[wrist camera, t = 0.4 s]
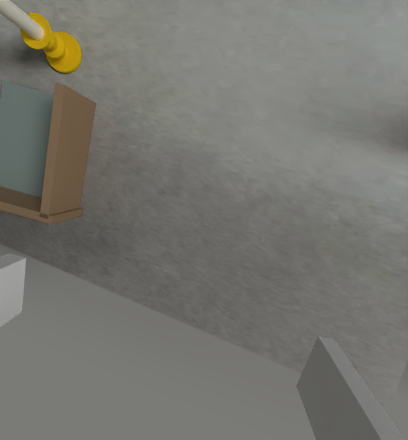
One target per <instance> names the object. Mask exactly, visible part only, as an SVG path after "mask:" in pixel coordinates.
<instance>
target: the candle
mask: <svg viewBox="0 0 408 440" xmlns="http://www.w3.org/2000/svg"><path fill="white" fill-rule="evenodd" d="M0 13H1V14H2V15H3V16H5V17H6V18H7V19H9V20H10V21H11V22H13V23H14V24H15V25H17V26H18V27H19V28H21V35H22V38H23V40H24V41H25V43H26V44H27V45H28V46H30V47H31V48H34V49H42V48H43V50H44V52H45V54H46V58H47V60H48V62H49V64H50V65H51V66H52V67H53V68H54V69H55V70H57V71H59V72H61V73H71V72H73V71H75V70H76V69H77V68H78V66H79V65H80V62H81V58H82V53H81V48H80V46H79V43H78V42H77V41H76V39H75V38H74V37H72V36H71V35H70V34H68V33H66V32H53V31H51V28H50V25H49V23H48V21H47V20H46V19H45V18H44V17H43V16H42V15H40V14H38V13H30V14H28V15H27V14H26V13H24V12H23V11H22V10H21V9H19V8H18V7H17V6H16V5H15V4H13V3H12V2H11V1H10V0H0Z"/></svg>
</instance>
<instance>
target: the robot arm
mask: <svg viewBox="0 0 408 440" xmlns="http://www.w3.org/2000/svg"><path fill="white" fill-rule="evenodd" d="M25 266H26V258H25V257H22V256H17V255H14V254H10V253H9V254H6V255H4V256H1V257H0V327H1V326H2V325H3V324H5V323H7V322H8V321H9V320H11V319H12V318H14V317H15V316H16V315H18V314H19V313H21V312H22V302H23V290H24V277H25ZM297 389H298V391H299V394H300V396H301V399H302V402H303V405H304V408H305V410H306V413H307V416H308V419H309V421H310V424H311V427H312V429H313V432H314V435H315V438H316V440H404V439H403V437H402V436H401V434H400V433H399V432H398V430H397V429H396V427H395V426H394V424H393V423H392V421H391V420H390V419H389V417H388V416H387V414H386V413H385V411H384V410H383V408H382V407H381V406H380V404H379V403H378V401H377V400H376V398H375V397H374V395H373V394H372V393H371V391H370V390H369V388H368V387H367V385H366V384H365V383H364V381H363V380H362V378H361V377H360V375H359V374H358V372H357V371H356V370H355V368H354V367H353V365H352V364H351V362H350V361H349V360H348V358H347V357H346V355H345V354H344V352H343V351H342V349H341V348H340V347H339V345H338V344H337V342H336V341H335V340H331V339H327V338H323V337H320V336H318V338H317V340H316V342H315V345H314V347H313V349H312V352H311V354H310V356H309V358H308V361H307V363H306V365H305V368H304V370H303V372H302V375H301V377H300V379H299V381H298V384H297Z"/></svg>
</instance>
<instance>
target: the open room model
mask: <svg viewBox="0 0 408 440" xmlns="http://www.w3.org/2000/svg"><path fill="white" fill-rule="evenodd" d="M95 106H96V103H95V102H93V101H91V100H89V99H88V98H86V97H84V96H83V95H81V94H79V93H77V92H76V91H74V90H72V89H71V88H69V87H67V86H65V85H62V84H59V83H55V91H54V95H52V94H48V93H45V92H41V91H38V90H34V89H31V88H27V87H24V86H20V85H17V84H13V83H10V82H6V81H3V80H2V87H1V101H0V210H2V211H6V212H10V213H13V214H17V215H20V216H24V217H27V218H31V219H34V220H38V221H41V222H45V223H48V224H55V223H58V222H62V221H65V220H68V219H71V218H75V217H78V216H81V215H82V212H83V208H80V201H81V195H82V189H83V182H84V176H85V170H86V163H87V157H88V150H89V144H90V138H91V131H92V125H93V119H94V112H95Z"/></svg>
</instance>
